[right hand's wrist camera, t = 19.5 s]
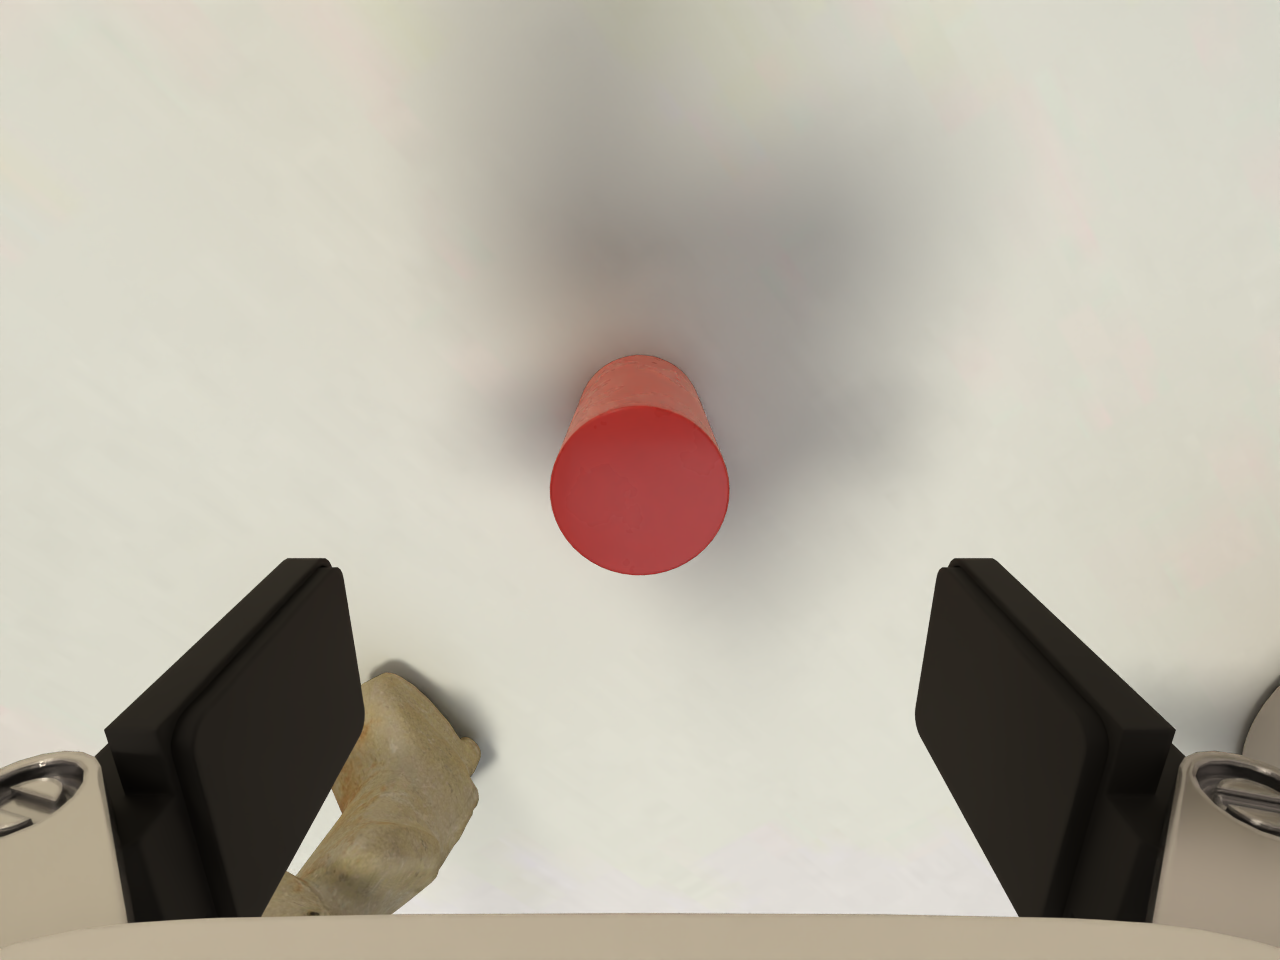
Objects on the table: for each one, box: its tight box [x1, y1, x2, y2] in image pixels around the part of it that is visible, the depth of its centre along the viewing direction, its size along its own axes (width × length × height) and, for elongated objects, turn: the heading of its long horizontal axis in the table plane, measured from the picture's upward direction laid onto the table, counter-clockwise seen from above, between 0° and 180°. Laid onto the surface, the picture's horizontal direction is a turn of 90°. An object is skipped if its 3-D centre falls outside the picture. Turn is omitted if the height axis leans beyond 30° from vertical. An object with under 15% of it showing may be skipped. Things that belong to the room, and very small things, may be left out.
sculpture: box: [261, 672, 481, 917], centre depth 26 cm, size 6×7×15 cm
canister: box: [550, 355, 730, 575], centre depth 24 cm, size 5×5×10 cm
